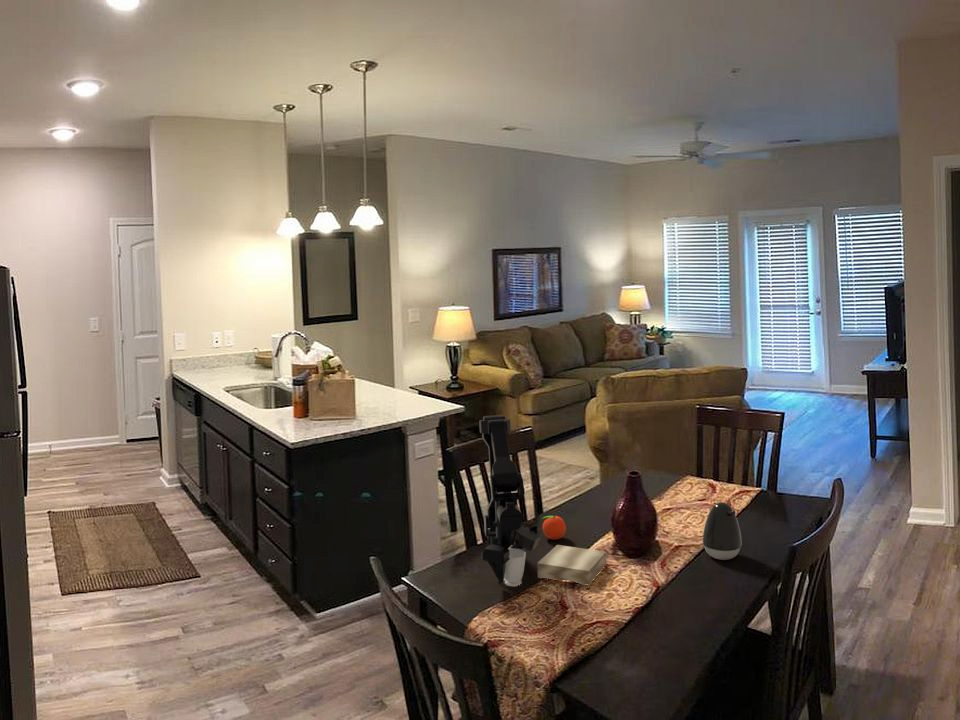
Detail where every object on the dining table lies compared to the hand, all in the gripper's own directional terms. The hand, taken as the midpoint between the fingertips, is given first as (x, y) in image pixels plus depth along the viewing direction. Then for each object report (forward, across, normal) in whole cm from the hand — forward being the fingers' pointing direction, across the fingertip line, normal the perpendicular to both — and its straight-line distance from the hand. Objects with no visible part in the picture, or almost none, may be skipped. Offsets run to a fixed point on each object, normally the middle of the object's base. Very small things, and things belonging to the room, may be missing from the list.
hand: (508, 575), depth 205 cm
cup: (+2, 0, 0) cm, 2 cm away
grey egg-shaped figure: (+2, +37, -47) cm, 60 cm away
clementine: (+2, +33, +1) cm, 33 cm away
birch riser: (+2, +12, -13) cm, 18 cm away
